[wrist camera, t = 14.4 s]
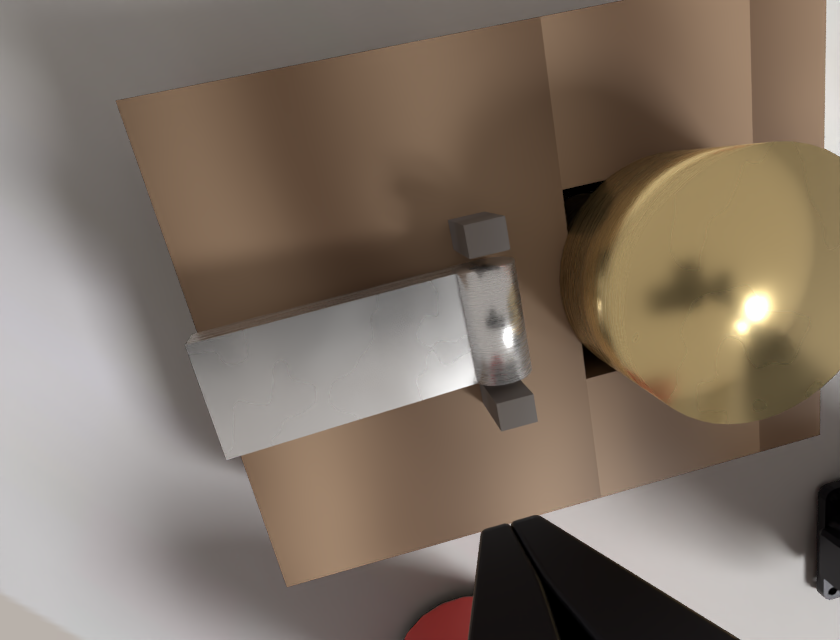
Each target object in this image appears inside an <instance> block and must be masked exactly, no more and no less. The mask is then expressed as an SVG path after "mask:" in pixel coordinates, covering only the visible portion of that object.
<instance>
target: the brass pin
mask: <svg viewBox="0 0 840 640" xmlns="http://www.w3.org/2000/svg"><path fill="white" fill-rule="evenodd" d="M564 208H565V216H566V224H567V232H568V235H567V238H566V241H565V244H564V248H563V252H562V257H561V263H560V276H559V282H560V295H561V300H562V305H563V309H564V312H565V314H566V317H567V320H568V322H569V324H570V326H571V328H572V330H573V332H574V333H575V335H576V336H577V337H578V339H579V340H580V342H581V343H582V344H583V345H584V346H585V347H586V348H587V349H588V350H589V351H590V352H591V353H593V354H594V355H595V356H597V357H598V358H599V359H601V360H602V361H604V362H605V363H606V364H608V365H609V366H611V367H612V368H614V369H615V370H617V371H618V372H620V373H621V374H623V375H624V376H626V377H627V378H629V379H630V380H631V381H633V382H634V383H636V384H637V385H639V386H640V387H642V388H643V389H645V390H646V391H648V392H649V393H651V394H652V395H654V396H655V397H656V398H658V399H659V400H661V401H662V402H664V403H665V404H667V405H668V406H670V407H671V408H673V409H674V410H676V411H678V412H680V413H682V414H684V415H686V416H688V417H691V418H694V419H697V420H700V421H705V422H710V423H715V424H740V423H748V422H753V421H758V420H762V419H765V418H768V417H771V416H774V415H777V414H779V413H781V412H784V411H786V410H788V409H790V408H792V407H794V406H796V405H797V404H799V403H800V402H802V401H804V400H805V399H807V398H809V397H810V396H811V395H813V394H814V393H815V392H816V391H818V390H819V389H820V388H822V387H823V386H824V385H825V384H826V383H827V382H828V381H829V380H830V379H831V378H833V377H834V376H835V375H836V374H837V372H838V371H839V370H840V157H839V156H837V155H836V154H834V153H832V152H830V151H828V150H826V149H823V148H820V147H817V146H814V145H811V144H806V143H800V142H765V143H755V144H744V145H733V146H722V147H712V148H701V149H690V150H679V151H670V152H663V153H657V154H653V155H650V156H647V157H643V158H641V159H639V160H636V161H634V162H632V163H630V164H628V165H626V166H625V167H623V168H621V169H620V170H618V171H617V172H615V173H614V174H613V175H611V176H610V177H609V178H608V179H606V180H605V181H604V182H603V183H602V184H601V185H600V186H599V187H598V188H597V189H596V190H595V191H594V192H593V193H583V194H578V195H575V196H572V197H570V198H568V199H566V200H564Z"/></svg>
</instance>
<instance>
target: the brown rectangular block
mask: <svg viewBox="0 0 840 640" xmlns="http://www.w3.org/2000/svg"><path fill="white" fill-rule="evenodd" d="M825 52H826V0H622V1H617V2H612V3H607V4H602V5H597V6H592V7H587V8H582V9H576V10H571V11H566V12H561V13H556V14H551V15H546V16H541V17H536V18H531V19H526V20H521V21H516V22H511V23H506V24H501V25H496V26H491V27H485V28H480V29H475V30H470V31H465V32H460V33H455V34H450V35H445V36H440V37H435V38H430V39H425V40H420V41H415V42H410V43H405V44H399V45H394V46H389V47H384V48H379V49H374V50H369V51H364V52H359V53H354V54H349V55H344V56H339V57H334V58H329V59H324V60H319V61H314V62H308V63H303V64H298V65H293V66H288V67H283V68H278V69H273V70H268V71H263V72H258V73H253V74H248V75H243V76H238V77H233V78H228V79H223V80H217V81H212V82H207V83H202V84H197V85H192V86H187V87H182V88H177V89H172V90H167V91H162V92H157V93H152V94H147V95H142V96H137V97H131V98H126V99H121V100H116V103H117V106H118V109H119V112H120V114H121V117H122V120H123V123H124V126H125V129H126V132H127V134H128V137H129V140H130V143H131V146H132V149H133V151H134V154H135V157H136V160H137V163H138V166H139V168H140V171H141V174H142V177H143V180H144V183H145V185H146V188H147V191H148V194H149V197H150V200H151V203H152V205H153V208H154V211H155V214H156V217H157V220H158V222H159V225H160V228H161V231H162V234H163V237H164V239H165V242H166V245H167V248H168V251H169V254H170V257H171V259H172V262H173V265H174V268H175V271H176V274H177V276H178V279H179V282H180V285H181V288H182V291H183V293H184V296H185V299H186V302H187V305H188V308H189V310H190V313H191V316H192V319H193V322H194V325H195V328H196V330H197V333H198V332H202V331H205V330H209V329H213V328H217V327H221V326H225V325H228V324H232V323H236V322H240V321H244V320H248V319H252V318H255V317H259V316H263V315H267V314H271V313H275V312H278V311H282V310H286V309H290V308H294V307H298V306H302V305H305V304H309V303H313V302H317V301H321V300H325V299H328V298H332V297H336V296H340V295H344V294H348V293H352V292H355V291H359V290H363V289H367V288H371V287H375V286H378V285H382V284H386V283H390V282H394V281H398V280H402V279H405V278H409V277H413V276H417V275H421V274H425V273H428V272H432V271H436V270H440V269H444V268H448V267H452V266H455V265H459V264H464V263H467V262H471V261H475V260H479V259H485V258H491V257H512V258H514V259H515V265H516V271H517V278H518V284H519V290H520V297H521V303H522V309H523V316H524V322H525V328H526V335H527V341H528V347H529V353H530V360H531V366H532V371H531V373H530V374H529V375H528V376H527V377H526V378H524V379H522V380H520V381H518V382H515V383H511V384H507V385H500V386H487V385H482V384H479V383H477V384H474V385H470V386H467V387H464V388H461V389H457V390H454V391H451V392H448V393H444V394H441V395H438V396H435V397H431V398H428V399H425V400H421V401H418V402H415V403H412V404H408V405H405V406H402V407H399V408H395V409H392V410H389V411H386V412H382V413H379V414H376V415H373V416H369V417H366V418H363V419H359V420H356V421H353V422H350V423H346V424H343V425H340V426H337V427H333V428H330V429H327V430H324V431H320V432H317V433H314V434H311V435H307V436H304V437H301V438H297V439H294V440H291V441H288V442H284V443H281V444H278V445H275V446H271V447H268V448H265V449H262V450H258V451H255V452H252V453H249V454H245V455H242V456H241V458H242V461H243V464H244V467H245V470H246V472H247V475H248V478H249V481H250V484H251V487H252V489H253V492H254V495H255V498H256V501H257V504H258V507H259V509H260V512H261V515H262V518H263V521H264V524H265V526H266V529H267V532H268V535H269V538H270V541H271V543H272V546H273V549H274V552H275V555H276V558H277V560H278V563H279V566H280V569H281V572H282V575H283V578H284V580H285V583H286V586H287V587H290V586H293V585H297V584H300V583H304V582H307V581H311V580H314V579H318V578H321V577H325V576H328V575H332V574H335V573H339V572H342V571H346V570H349V569H353V568H356V567H360V566H363V565H367V564H370V563H374V562H377V561H380V560H384V559H387V558H391V557H394V556H398V555H401V554H405V553H408V552H412V551H415V550H419V549H422V548H426V547H429V546H433V545H436V544H440V543H443V542H447V541H450V540H454V539H457V538H461V537H464V536H468V535H471V534H475V533H478V532H482V531H483V530H484V529H486V528H490V527H493V526H497V525H500V524H504V523H506V524H510V523H512V522H513V521H515V520H518V519H522V518H525V517H529V516H532V515H541V514H545V513H548V512H552V511H555V510H559V509H562V508H566V507H569V506H573V505H576V504H580V503H583V502H587V501H590V500H594V499H597V498H601V497H604V496H608V495H611V494H615V493H618V492H622V491H625V490H629V489H632V488H636V487H639V486H643V485H646V484H650V483H653V482H657V481H660V480H664V479H667V478H670V477H674V476H677V475H681V474H684V473H688V472H691V471H695V470H698V469H702V468H705V467H709V466H712V465H716V464H719V463H723V462H726V461H730V460H733V459H737V458H740V457H744V456H747V455H751V454H754V453H758V452H761V451H765V450H768V449H772V448H775V447H779V446H782V445H786V444H789V443H793V442H796V441H800V440H803V439H807V438H810V437H814V436H817V435H820V389H819V390H818V391H816V392H815V393H814V394H813V395H811V396H810V397H809V398H807V399H805V400H804V401H802V402H800V403H799V404H797V405H796V406H794V407H792V408H790V409H788V410H786V411H784V412H781V413H779V414H777V415H774V416H771V417H768V418H765V419H762V420H758V421H753V422H748V423H740V424H715V423H710V422H705V421H700V420H697V419H694V418H691V417H688V416H686V415H684V414H682V413H680V412H678V411H676V410H674V409H673V408H671V407H670V406H668V405H667V404H665V403H664V402H662V401H661V400H659V399H658V398H656V397H655V396H654V395H652V394H651V393H649V392H648V391H646V390H645V389H643V388H642V387H640V386H639V385H637V384H636V383H634V382H633V381H631V380H630V379H629V378H627V377H626V376H624V375H623V374H621V373H620V372H618V371H617V370H615V369H614V368H612V367H611V366H609V365H608V364H606V363H605V362H604V361H602V360H601V359H599V358H598V357H597V356H595V355H594V354H593V353H591V352H590V351H589V350H588V349H587V348H586V347H585V346H584V345H583V344H582V343H581V342H580V340H579V339H578V337H577V336H576V335H575V333H574V332H573V330H572V328H571V326H570V324H569V322H568V320H567V317H566V314H565V312H564V309H563V305H562V300H561V295H560V282H559V276H560V263H561V257H562V252H563V248H564V244H565V241H566V238H567V235H568V232H567V224H566V216H565V208H564V200H563V192H562V190H563V189H568V188H572V187H576V186H581V185H585V184H590V183H594V182H598V181H603V180H606V179H608V178H609V177H610V176H611V175H613V174H614V173H615V172H617V171H618V170H620V169H621V168H623V167H625V166H626V165H628V164H630V163H632V162H634V161H636V160H639V159H641V158H643V157H647V156H650V155H653V154H657V153H663V152H670V151H679V150H690V149H701V148H712V147H722V146H733V145H744V144H755V143H765V142H800V143H806V144H811V145H814V146H817V147H820V148H823V149H824V118H825Z"/></svg>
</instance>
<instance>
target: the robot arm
mask: <svg viewBox="0 0 840 640" xmlns="http://www.w3.org/2000/svg"><path fill="white" fill-rule="evenodd" d="M817 591H818V592H819V593H820V594H821V595H822V596H823V597H825V598H826V599H829V600H830V599H835V598H838V597H840V480H839V481H836V482H832V483H829V484H826V485H824V486H823V487H822V488H821V489H820V491H819V493H818V522H817ZM468 640H740V639H739V638H737V637H735V636H734V635H732V634H730V633H729V632H727V631H726V630H724V629H722V628H721V627H719V626H717V625H716V624H714V623H713V622H711V621H709V620H708V619H706V618H705V617H703V616H701V615H700V614H698V613H696V612H695V611H693V610H692V609H690V608H688V607H687V606H685V605H684V604H682V603H680V602H679V601H677V600H675V599H674V598H672V597H671V596H669V595H667V594H666V593H664V592H663V591H661V590H659V589H658V588H656V587H654V586H653V585H651V584H650V583H648V582H646V581H645V580H643V579H641V578H640V577H638V576H637V575H635V574H633V573H632V572H630V571H629V570H627V569H625V568H624V567H622V566H620V565H619V564H617V563H616V562H614V561H612V560H611V559H609V558H608V557H606V556H604V555H603V554H601V553H599V552H598V551H596V550H595V549H593V548H591V547H590V546H588V545H587V544H585V543H583V542H582V541H580V540H578V539H577V538H575V537H574V536H572V535H570V534H569V533H567V532H565V531H564V530H562V529H561V528H559V527H557V526H556V525H554V524H553V523H551V522H549V521H548V520H546V519H544V518H543V517H541V516H539V515H532V516H529V517H525V518H522V519H518V520H515V521H513V522H512V523H511V526H510V525H509V524H506V523H504V524H500V525H497V526H493V527H490V528H486V529H484V530H483V531H482V532H481V536H480V544H479V552H478V560H477V568H476V576H475V584H474V593H473V601H472V609H471V617H470V625H469V633H468Z"/></svg>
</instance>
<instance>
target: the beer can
mask: <svg viewBox="0 0 840 640" xmlns="http://www.w3.org/2000/svg"><path fill="white" fill-rule="evenodd" d="M472 601H473V596H463V597H460V598H457V599H454V600H450V601H447V602H444V603H442V604H440V605H438V606H437V607H435V608H434V609H432V610H431V611H429V612H427V613H426V614H424V615H423V616H422V617H421V618H420V619H419V621H418V622H417V623H416V624H415V625H414V626H413V627H412V628H411V629H410V630H409V632H408V633H407V635H406V637H405V639H404V640H468V633H469V625H470V617H471V609H472Z"/></svg>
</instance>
